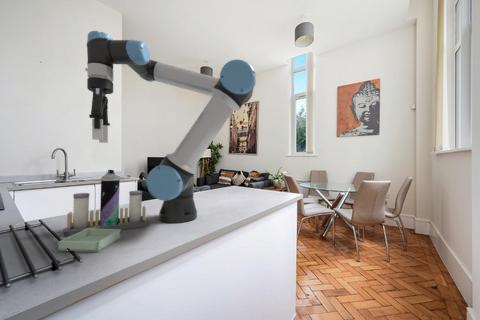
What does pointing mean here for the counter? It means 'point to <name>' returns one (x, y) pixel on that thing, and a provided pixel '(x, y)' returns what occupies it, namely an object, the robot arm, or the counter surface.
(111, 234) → the tray
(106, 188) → the spray can
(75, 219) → the fuse
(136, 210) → the fuse
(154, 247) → the counter surface
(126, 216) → the fuse frame
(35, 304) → the counter surface
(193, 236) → the counter surface
